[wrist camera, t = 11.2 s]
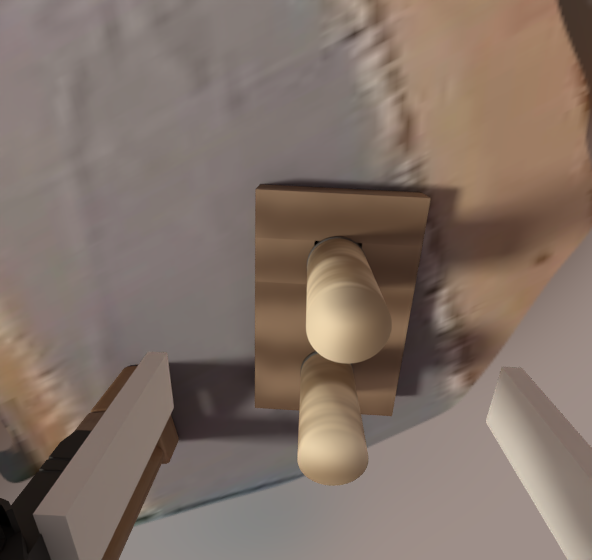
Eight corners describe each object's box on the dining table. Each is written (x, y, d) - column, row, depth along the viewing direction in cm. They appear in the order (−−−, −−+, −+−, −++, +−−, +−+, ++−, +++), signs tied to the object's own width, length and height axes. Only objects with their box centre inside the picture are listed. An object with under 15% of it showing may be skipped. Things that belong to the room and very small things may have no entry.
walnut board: (260, 184, 33) (228, 217, 20) (420, 192, 32) (489, 231, 20) (258, 388, 41) (235, 503, 28) (386, 396, 41) (420, 515, 28)
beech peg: (305, 279, 35) (302, 361, 23) (308, 227, 33) (307, 284, 21) (359, 282, 35) (386, 366, 23) (365, 229, 33) (398, 289, 21)
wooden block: (156, 362, 40) (46, 528, 23) (180, 438, 44) (101, 627, 27) (123, 365, 40) (-8, 531, 24) (150, 440, 44) (54, 628, 28)
